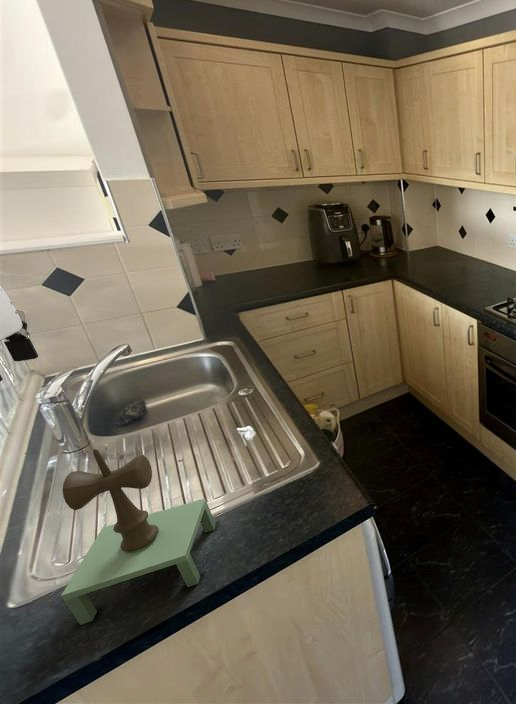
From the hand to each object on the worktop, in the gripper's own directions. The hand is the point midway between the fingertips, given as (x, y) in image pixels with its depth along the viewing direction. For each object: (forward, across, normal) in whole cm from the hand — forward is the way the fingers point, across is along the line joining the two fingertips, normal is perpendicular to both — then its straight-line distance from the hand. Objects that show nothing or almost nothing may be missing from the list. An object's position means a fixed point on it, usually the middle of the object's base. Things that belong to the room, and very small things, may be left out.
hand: (9, 370), depth 71 cm
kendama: (+29, +18, +16) cm, 38 cm away
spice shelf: (+36, +18, +16) cm, 44 cm away
